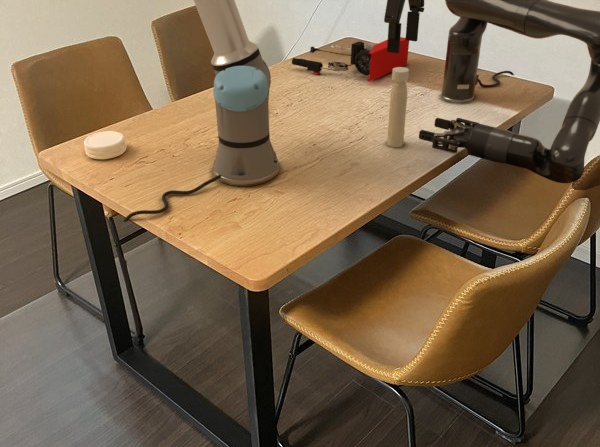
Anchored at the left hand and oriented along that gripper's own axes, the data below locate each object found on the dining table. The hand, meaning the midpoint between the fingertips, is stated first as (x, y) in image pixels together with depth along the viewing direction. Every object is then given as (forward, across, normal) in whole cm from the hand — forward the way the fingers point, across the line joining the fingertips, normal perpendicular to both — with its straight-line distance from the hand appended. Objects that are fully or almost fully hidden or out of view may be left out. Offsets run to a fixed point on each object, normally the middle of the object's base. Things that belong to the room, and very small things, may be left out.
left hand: (402, 46), depth 144 cm
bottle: (+25, 0, 0) cm, 25 cm away
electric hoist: (+25, -48, -38) cm, 66 cm away
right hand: (+18, +1, +8) cm, 20 cm away
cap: (+6, 0, 0) cm, 6 cm away
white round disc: (+25, +40, -61) cm, 77 cm away
